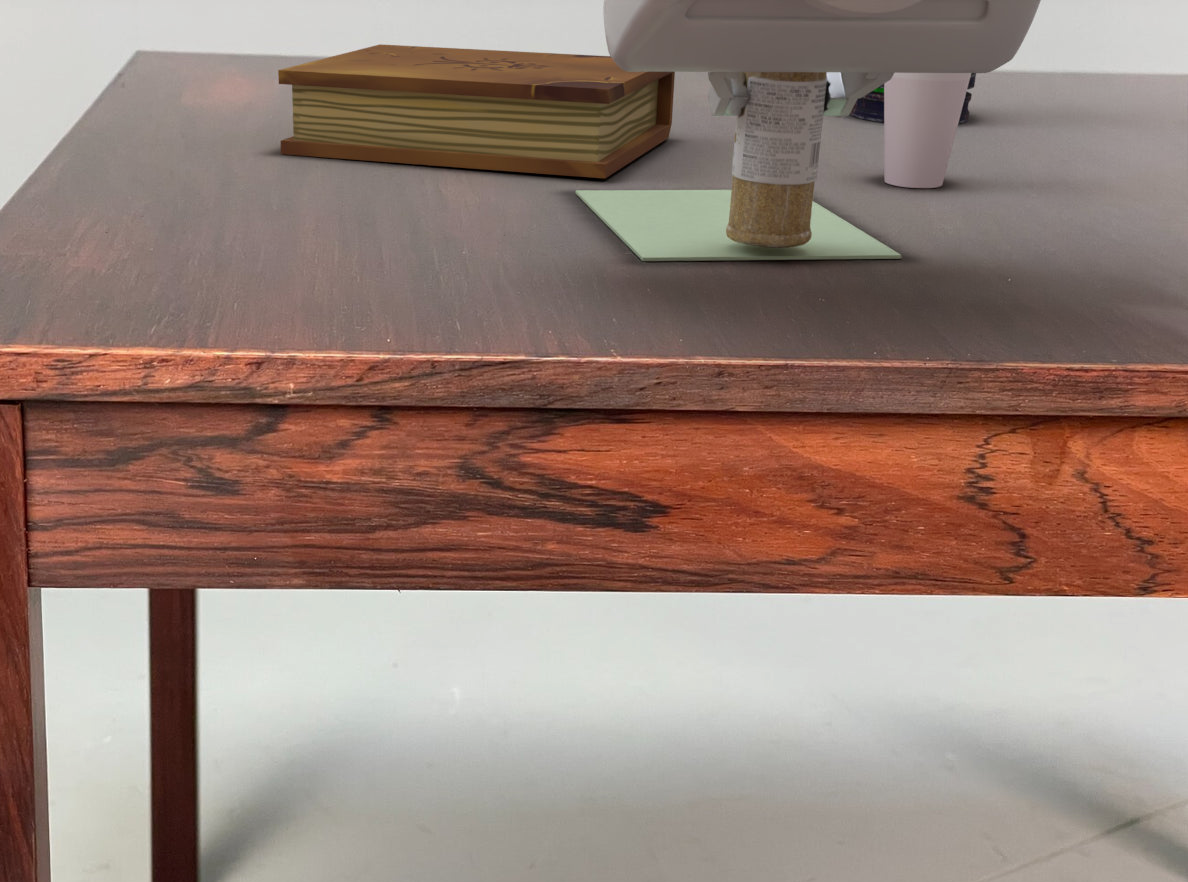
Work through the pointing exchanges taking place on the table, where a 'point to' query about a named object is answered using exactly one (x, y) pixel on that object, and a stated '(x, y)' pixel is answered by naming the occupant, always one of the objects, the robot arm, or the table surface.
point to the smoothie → (921, 126)
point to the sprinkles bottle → (776, 159)
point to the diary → (478, 109)
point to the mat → (715, 228)
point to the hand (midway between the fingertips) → (776, 105)
